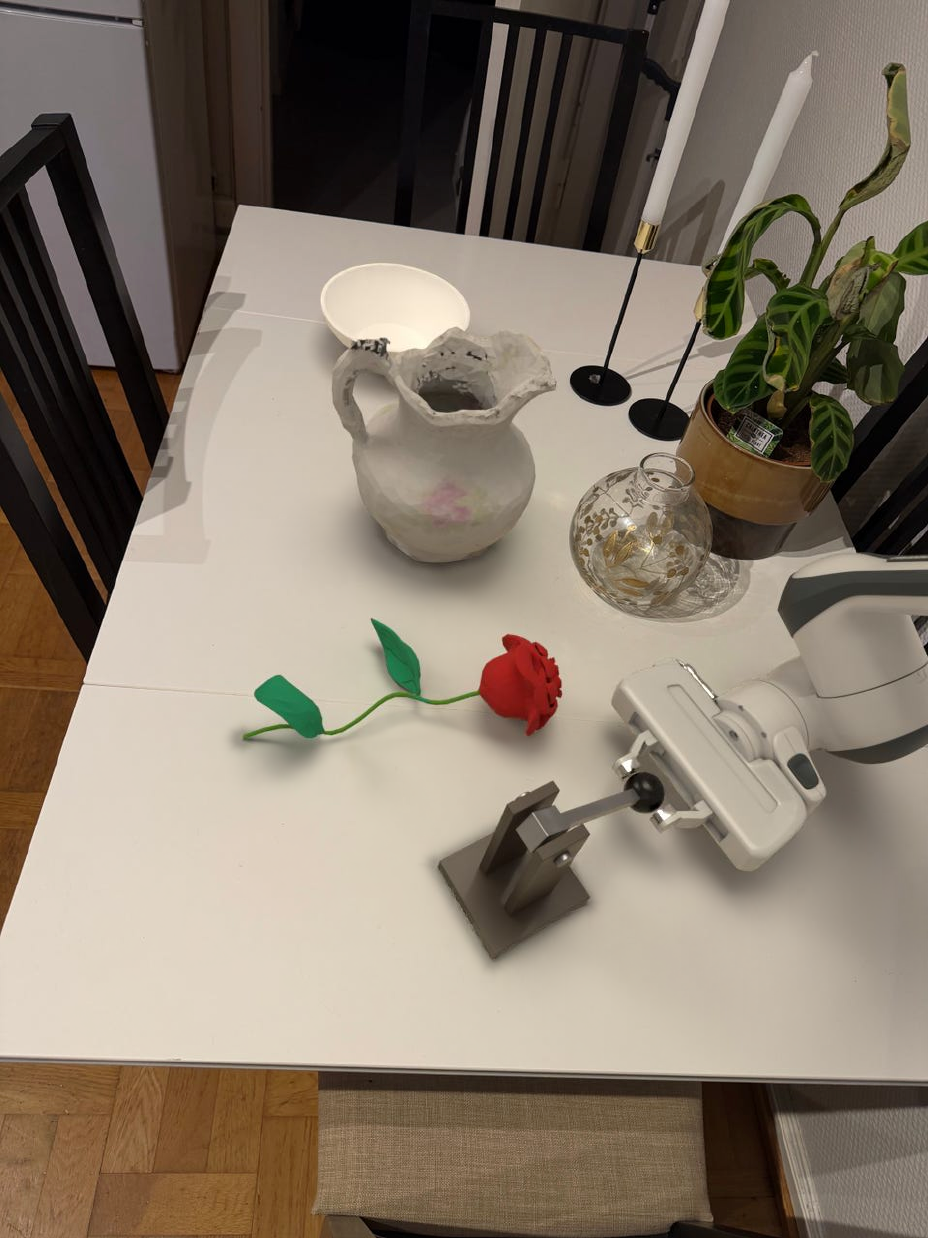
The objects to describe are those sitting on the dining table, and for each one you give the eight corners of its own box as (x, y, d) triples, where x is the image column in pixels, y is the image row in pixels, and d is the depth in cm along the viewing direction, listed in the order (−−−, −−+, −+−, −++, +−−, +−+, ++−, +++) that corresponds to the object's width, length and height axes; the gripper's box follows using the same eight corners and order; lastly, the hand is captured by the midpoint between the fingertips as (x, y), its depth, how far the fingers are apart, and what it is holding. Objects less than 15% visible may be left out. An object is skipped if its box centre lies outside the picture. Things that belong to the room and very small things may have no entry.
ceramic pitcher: (351, 608, 93) (373, 445, 72) (310, 470, 102) (319, 291, 81) (535, 577, 100) (604, 419, 79) (481, 450, 109) (530, 280, 88)
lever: (631, 784, 80) (655, 760, 78) (655, 816, 78) (680, 793, 76) (506, 826, 68) (530, 799, 66) (531, 866, 66) (557, 840, 64)
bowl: (358, 410, 110) (361, 365, 105) (295, 320, 119) (295, 275, 114) (488, 378, 118) (497, 335, 113) (420, 296, 127) (426, 253, 122)
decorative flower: (249, 636, 87) (244, 574, 80) (535, 639, 93) (556, 580, 85) (241, 761, 79) (235, 705, 71) (556, 756, 84) (582, 703, 77)
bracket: (530, 816, 80) (567, 744, 69) (586, 902, 76) (635, 840, 65) (437, 866, 76) (461, 798, 65) (492, 959, 72) (527, 903, 61)
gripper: (690, 634, 84) (577, 687, 78) (840, 809, 75) (725, 883, 69) (668, 670, 89) (561, 722, 83) (806, 838, 80) (696, 910, 74)
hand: (636, 797), depth 76 cm, fingers open, 4 cm apart
